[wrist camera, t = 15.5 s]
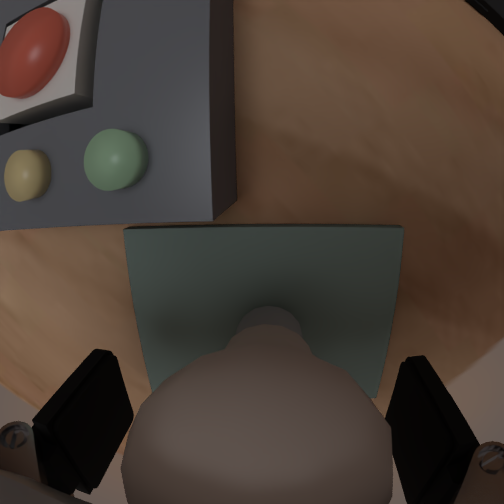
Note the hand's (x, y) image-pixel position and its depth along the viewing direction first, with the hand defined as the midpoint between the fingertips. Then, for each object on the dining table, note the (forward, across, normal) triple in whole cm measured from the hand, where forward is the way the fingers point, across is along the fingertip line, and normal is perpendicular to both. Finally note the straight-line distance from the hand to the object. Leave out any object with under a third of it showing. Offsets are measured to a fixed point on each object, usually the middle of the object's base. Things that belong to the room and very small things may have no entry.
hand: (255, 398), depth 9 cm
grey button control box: (+5, +7, -12) cm, 14 cm away
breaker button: (+3, +7, -11) cm, 14 cm away
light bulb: (+5, 0, 0) cm, 5 cm away
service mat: (+5, 0, 0) cm, 5 cm away
